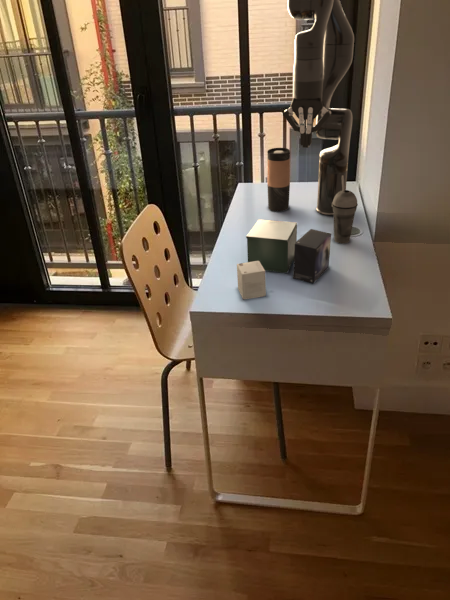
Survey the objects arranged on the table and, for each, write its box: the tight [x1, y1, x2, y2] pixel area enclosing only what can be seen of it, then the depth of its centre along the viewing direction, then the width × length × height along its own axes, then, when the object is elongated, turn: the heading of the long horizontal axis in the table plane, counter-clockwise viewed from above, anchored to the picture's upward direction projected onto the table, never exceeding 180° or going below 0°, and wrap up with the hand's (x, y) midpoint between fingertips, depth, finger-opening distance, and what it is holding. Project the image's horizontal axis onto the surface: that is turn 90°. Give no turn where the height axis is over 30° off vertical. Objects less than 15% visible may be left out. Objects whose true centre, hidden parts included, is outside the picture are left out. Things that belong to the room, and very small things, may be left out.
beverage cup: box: [332, 176, 359, 245], centre depth 148 cm, size 7×7×20 cm
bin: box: [246, 224, 298, 274], centre depth 142 cm, size 12×11×9 cm
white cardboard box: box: [236, 261, 267, 301], centre depth 128 cm, size 6×6×7 cm
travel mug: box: [266, 147, 291, 212], centre depth 173 cm, size 8×8×20 cm
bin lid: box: [245, 218, 298, 242], centre depth 139 cm, size 12×11×1 cm
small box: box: [292, 228, 332, 284], centre depth 134 cm, size 11×6×10 cm, turn 148°
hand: (305, 146), depth 137 cm, fingers closed
